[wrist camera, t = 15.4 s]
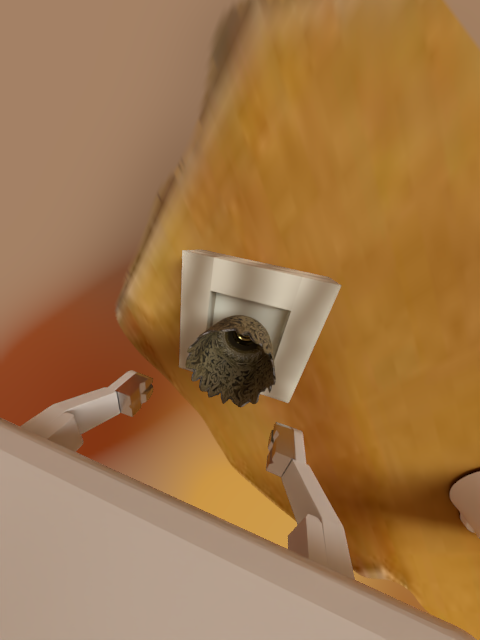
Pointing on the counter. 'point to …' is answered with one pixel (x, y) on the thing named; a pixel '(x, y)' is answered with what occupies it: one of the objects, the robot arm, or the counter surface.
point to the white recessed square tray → (256, 307)
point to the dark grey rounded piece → (233, 360)
